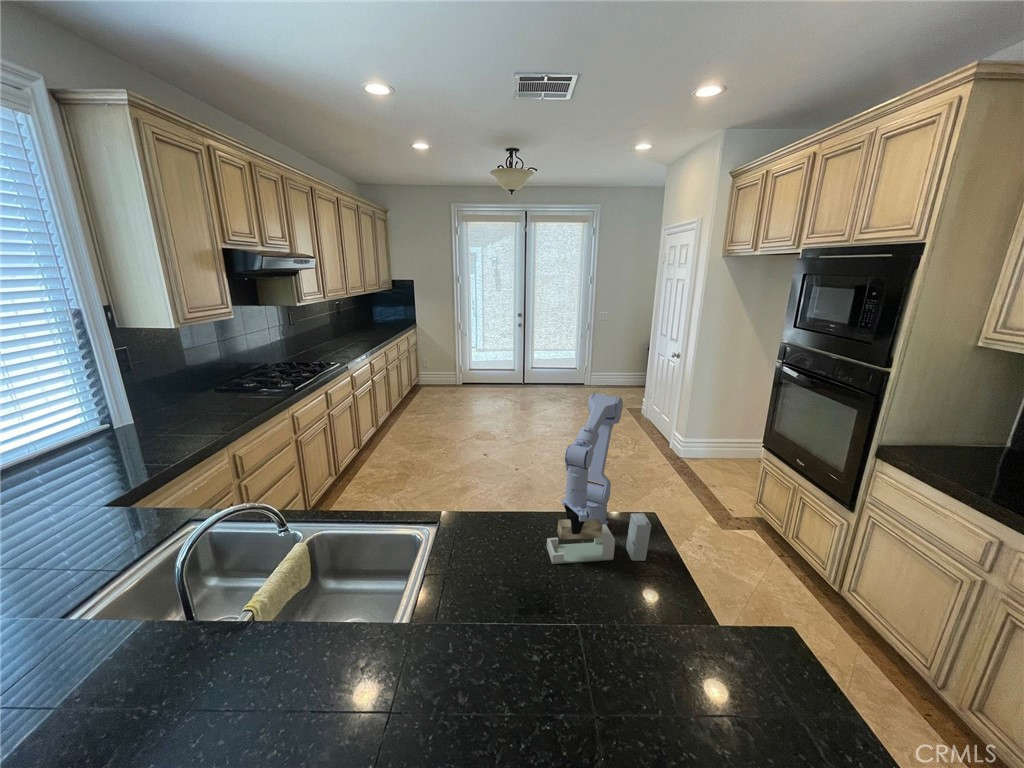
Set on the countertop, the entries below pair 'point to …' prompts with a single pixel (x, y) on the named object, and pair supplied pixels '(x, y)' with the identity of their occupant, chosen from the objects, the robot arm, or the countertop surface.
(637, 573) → the countertop surface
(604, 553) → the endcap rail
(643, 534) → the skincare box
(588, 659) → the countertop surface
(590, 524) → the tan rectangular block
